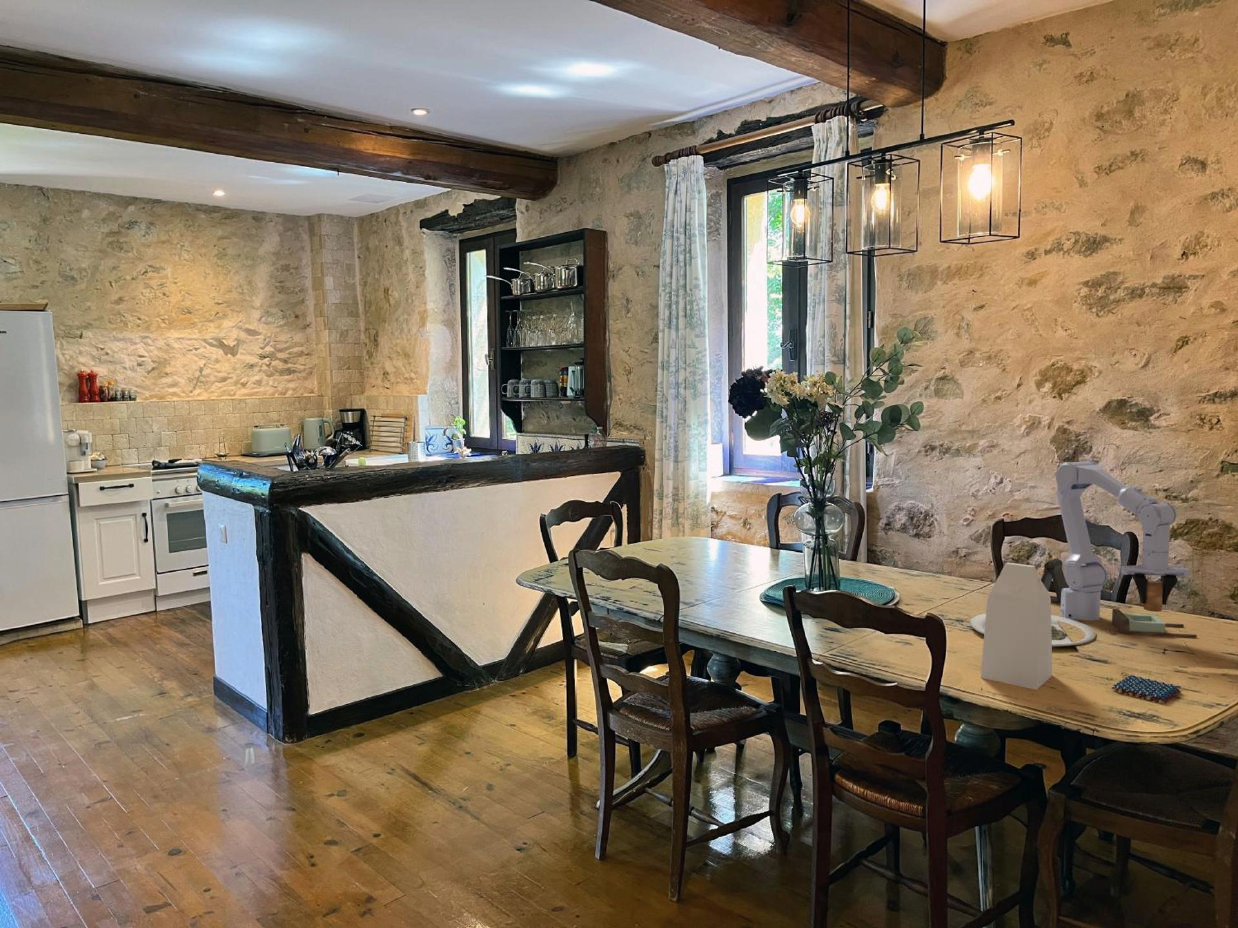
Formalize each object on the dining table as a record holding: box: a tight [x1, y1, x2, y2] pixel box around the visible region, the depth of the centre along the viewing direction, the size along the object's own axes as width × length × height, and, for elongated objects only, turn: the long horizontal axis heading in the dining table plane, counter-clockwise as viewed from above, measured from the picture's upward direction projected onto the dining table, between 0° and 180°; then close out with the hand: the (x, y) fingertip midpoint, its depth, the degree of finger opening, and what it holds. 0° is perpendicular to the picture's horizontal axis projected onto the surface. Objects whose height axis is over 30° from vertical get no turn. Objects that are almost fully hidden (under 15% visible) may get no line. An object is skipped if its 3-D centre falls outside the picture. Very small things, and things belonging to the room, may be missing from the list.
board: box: [1111, 608, 1197, 639], centre depth 223 cm, size 17×16×5 cm
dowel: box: [1143, 580, 1163, 612], centre depth 219 cm, size 4×4×7 cm
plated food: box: [970, 612, 1097, 648], centre depth 229 cm, size 30×30×3 cm
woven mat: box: [1111, 674, 1182, 704], centre depth 187 cm, size 10×11×2 cm
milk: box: [980, 562, 1053, 691], centre depth 196 cm, size 12×12×26 cm
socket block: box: [1122, 612, 1166, 633], centre depth 226 cm, size 8×8×3 cm
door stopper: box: [1040, 558, 1069, 605], centre depth 261 cm, size 9×6×12 cm, turn 42°
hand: (1152, 603), depth 220 cm, fingers closed on dowel, 4 cm apart
